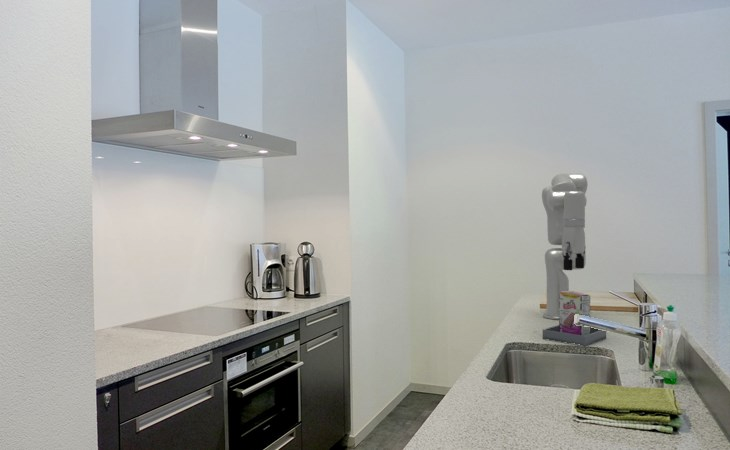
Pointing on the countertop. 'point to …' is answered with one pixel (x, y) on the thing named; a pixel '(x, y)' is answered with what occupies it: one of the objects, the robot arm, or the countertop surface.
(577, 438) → the countertop surface
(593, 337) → the tray
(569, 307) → the candy bar box
